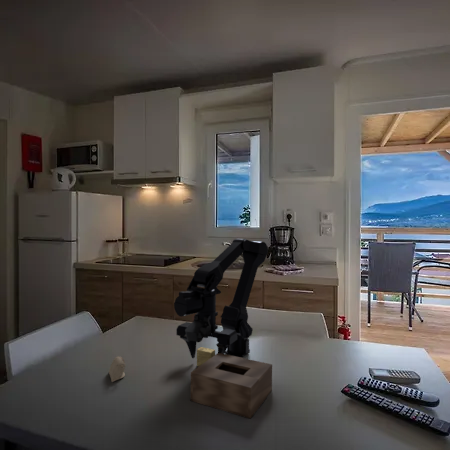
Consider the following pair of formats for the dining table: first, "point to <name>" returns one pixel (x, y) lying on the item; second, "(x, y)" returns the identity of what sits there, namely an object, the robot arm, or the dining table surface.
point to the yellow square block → (204, 355)
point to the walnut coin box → (232, 384)
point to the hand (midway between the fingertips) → (206, 360)
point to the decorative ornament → (117, 369)
